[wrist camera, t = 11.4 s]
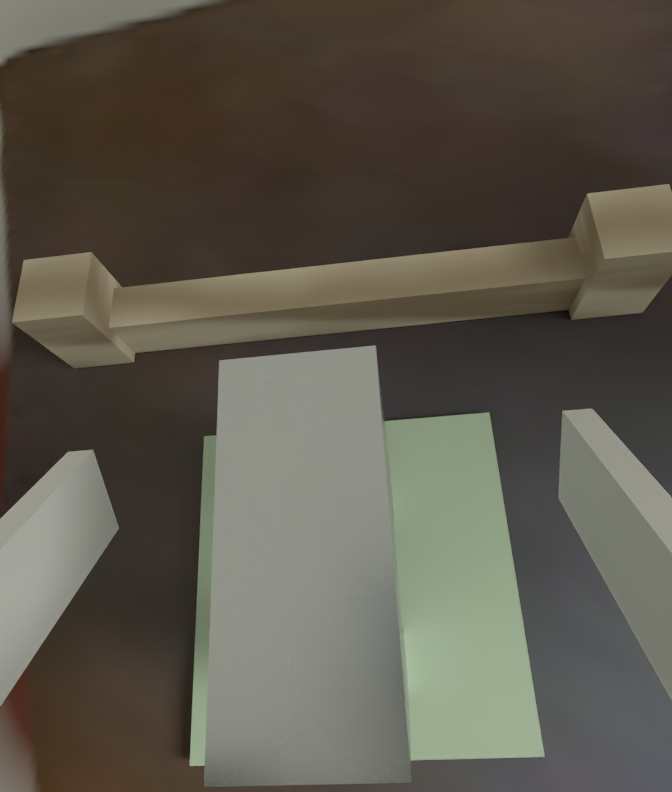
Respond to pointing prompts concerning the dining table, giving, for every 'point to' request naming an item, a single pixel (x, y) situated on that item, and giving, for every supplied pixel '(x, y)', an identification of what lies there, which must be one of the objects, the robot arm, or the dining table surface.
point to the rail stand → (357, 289)
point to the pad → (433, 595)
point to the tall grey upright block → (304, 578)
